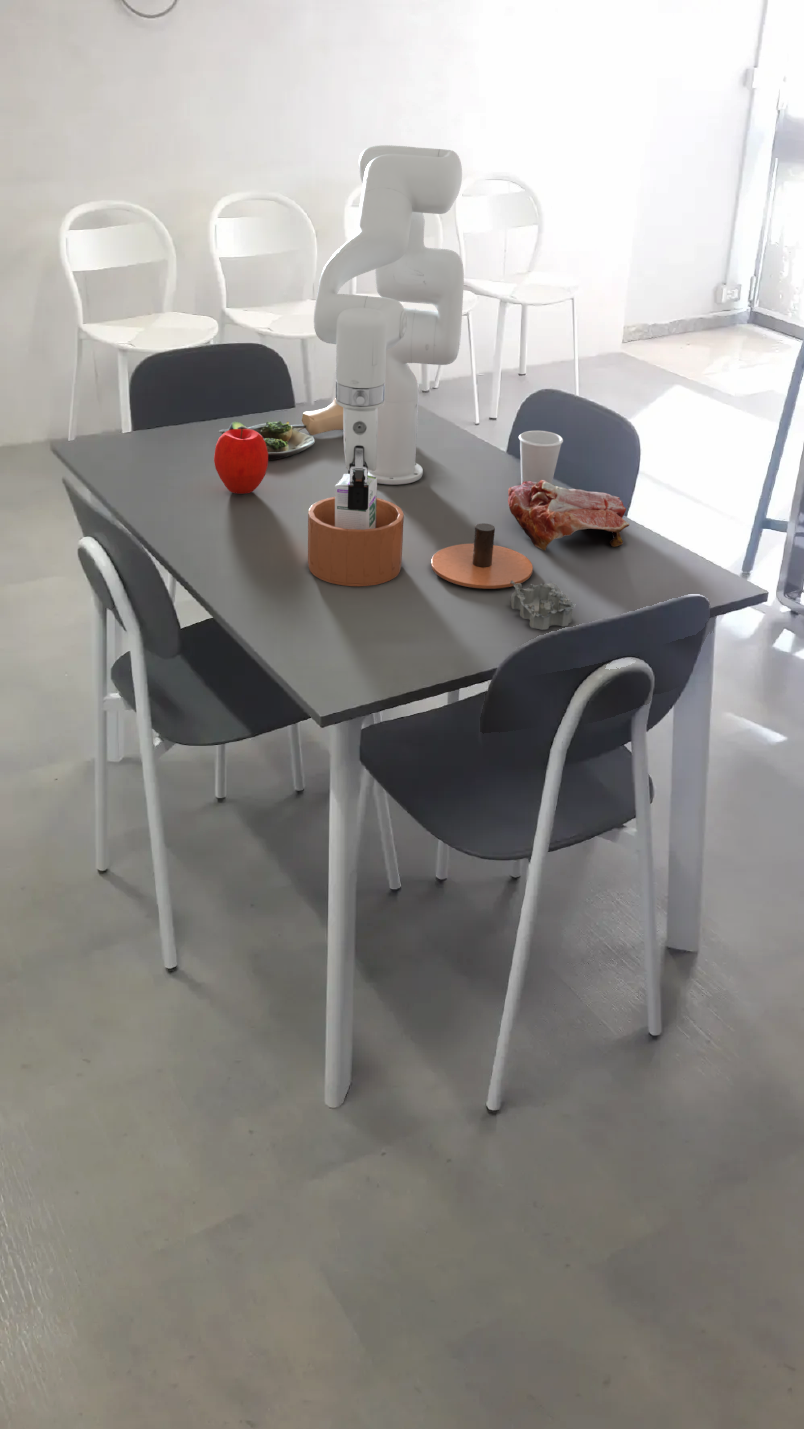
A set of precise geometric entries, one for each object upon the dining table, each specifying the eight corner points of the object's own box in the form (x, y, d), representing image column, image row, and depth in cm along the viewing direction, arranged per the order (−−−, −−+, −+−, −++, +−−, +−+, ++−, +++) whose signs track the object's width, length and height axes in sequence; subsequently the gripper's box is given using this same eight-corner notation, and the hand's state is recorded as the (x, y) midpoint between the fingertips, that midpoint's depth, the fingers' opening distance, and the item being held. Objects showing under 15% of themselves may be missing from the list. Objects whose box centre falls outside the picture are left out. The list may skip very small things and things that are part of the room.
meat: (560, 500, 238) (566, 448, 233) (650, 535, 225) (658, 482, 220) (483, 526, 226) (488, 472, 220) (574, 565, 213) (581, 509, 207)
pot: (309, 546, 214) (309, 494, 209) (399, 549, 215) (402, 496, 210) (306, 585, 201) (306, 529, 196) (402, 587, 202) (405, 532, 197)
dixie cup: (506, 482, 245) (511, 432, 240) (544, 478, 248) (549, 428, 243) (527, 497, 238) (532, 446, 233) (565, 493, 241) (571, 442, 236)
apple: (234, 506, 228) (232, 441, 222) (204, 489, 235) (201, 426, 228) (279, 494, 234) (278, 430, 228) (248, 479, 240) (246, 416, 234)
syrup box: (368, 572, 205) (371, 488, 197) (333, 568, 206) (334, 484, 198) (375, 559, 210) (378, 476, 202) (341, 554, 211) (343, 471, 203)
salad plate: (280, 423, 269) (280, 402, 267) (336, 446, 259) (336, 424, 256) (207, 441, 257) (206, 419, 255) (262, 466, 247) (262, 443, 244)
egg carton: (505, 602, 199) (507, 579, 197) (549, 598, 201) (551, 574, 199) (531, 632, 190) (534, 608, 188) (577, 627, 192) (580, 603, 190)
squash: (402, 434, 268) (404, 396, 262) (317, 454, 261) (316, 416, 255) (379, 410, 275) (380, 373, 269) (295, 430, 268) (294, 391, 262)
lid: (428, 548, 216) (430, 506, 212) (525, 551, 217) (530, 509, 213) (433, 590, 201) (436, 546, 197) (538, 593, 202) (542, 549, 198)
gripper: (385, 412, 187) (381, 519, 196) (383, 376, 201) (380, 477, 210) (335, 411, 186) (333, 518, 195) (336, 374, 201) (335, 476, 210)
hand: (357, 497), depth 203 cm, fingers open, 9 cm apart
